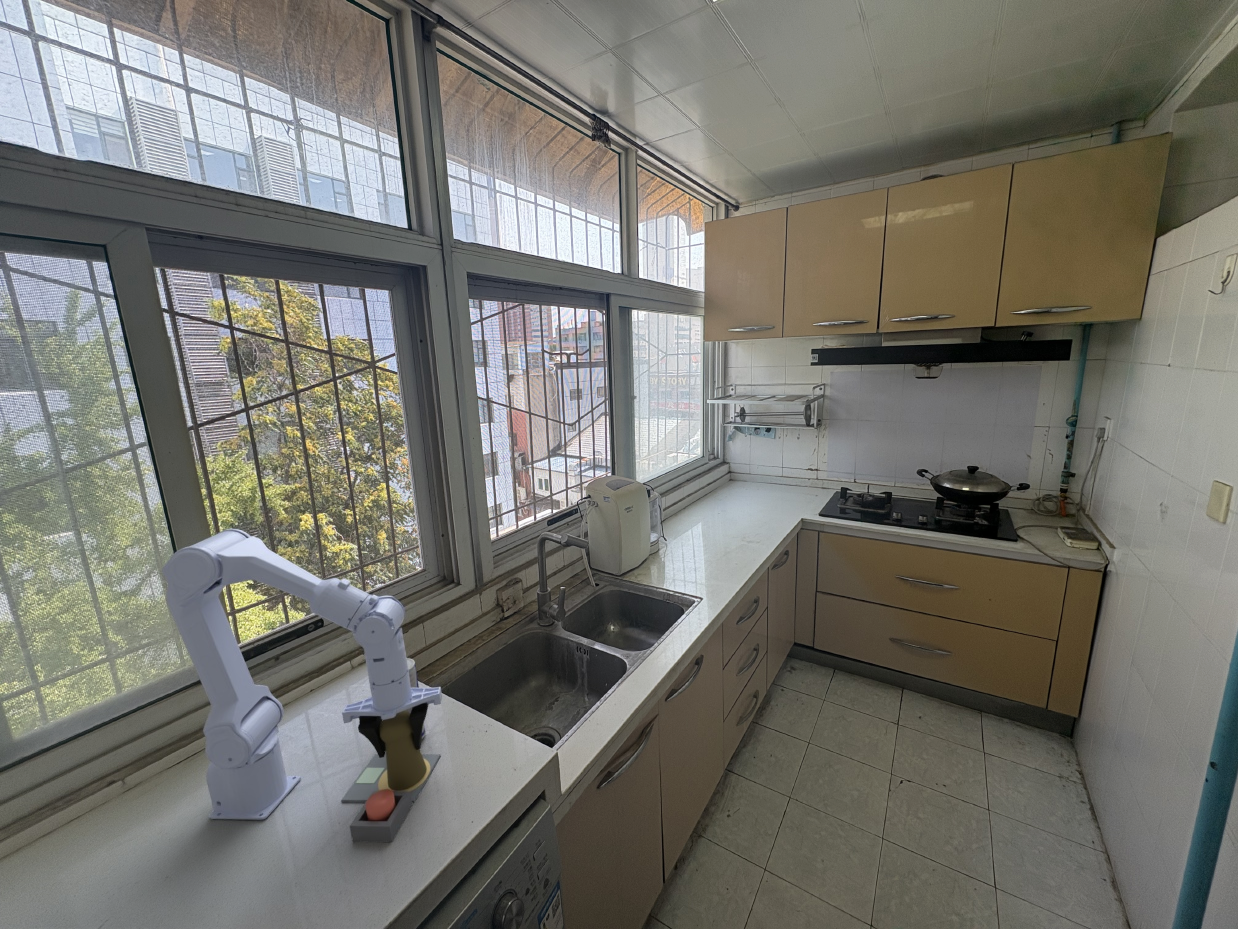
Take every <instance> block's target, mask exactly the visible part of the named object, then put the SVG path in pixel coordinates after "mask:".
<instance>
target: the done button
mask: <svg viewBox="0 0 1238 929" xmlns="http://www.w3.org/2000/svg"><path fill="white" fill-rule="evenodd" d="M365 803H366V805H365V806H366V812H367V818H368V821H388V819H389V818H390V816H391V814H392V813H393V811H394V809H395V808H396V805H395V799H394V793H393V791H392V790H389V789H383V790H380V791H378V792H376V793H374V794H373V795H371V796H370V797H369V798H368V800H367V802H365Z"/></svg>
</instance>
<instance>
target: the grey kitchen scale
mask: <svg viewBox="0 0 1238 929" xmlns="http://www.w3.org/2000/svg"><path fill="white" fill-rule="evenodd" d="M421 754H422V753H421ZM422 757H423V759H424V762H425V764H426V767H427V770H426V774H425V775H424V777H423V778H422V779H421V780H420V781H419V782H418V783H417V784H415V785H414V786H412V787H410V788H408V789H405V790H402V791H410V792H411V798H412V804H414V803H416V801H417V798H418V797H419V796H420V794H421V792H422V790H423V789H424V787H425V784H426V783H427V781H428V779H429V778H430V776H431V775H432V772H433V770H434V768H435V767H436V766H437V764H438V762H439V759H440V758H441V754H439V753H438V754H435V753H434V754H429V753H428V754H425V753H423V754H422ZM383 789H389V790H391V789H390V788H389V787H388V778H387V762H386V753H385V755H384V757H382V758H379V755H378V753H377V754H374V755H373V756H372V758H371V759H370V760H369V762H368V763H367V764H366V765H365V767H364V768H363V769H362V771H361V773H360V774H359V775H358V777H357V778H356V779H355V781H354V782H353V783H352V785H351V786H350V787H349V789H348V790H347V791H346V793H345V794H344V796H343V797H342V798H341V801H340V802H341V803H366V801H367V800H368V798H369V797H370V795H371V794H372V792H373V791H380V790H383ZM392 791H394V790H392Z"/></svg>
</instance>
